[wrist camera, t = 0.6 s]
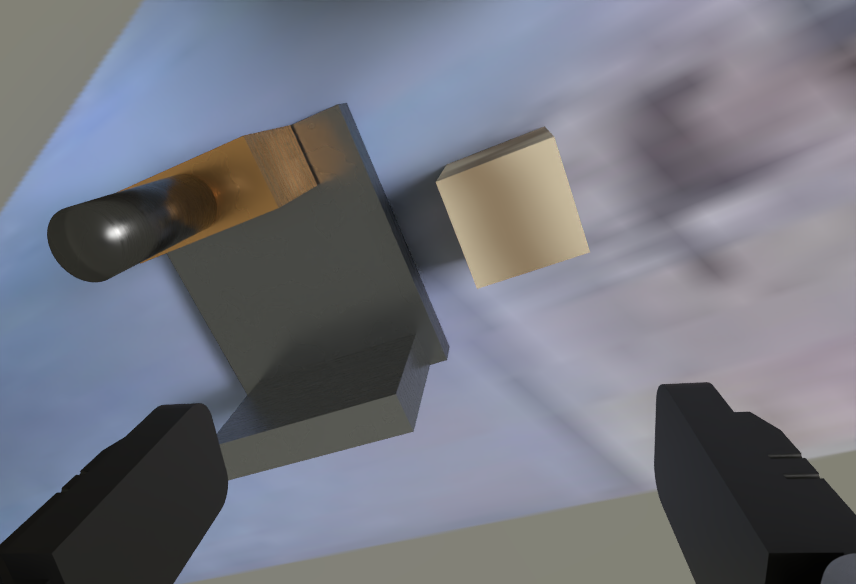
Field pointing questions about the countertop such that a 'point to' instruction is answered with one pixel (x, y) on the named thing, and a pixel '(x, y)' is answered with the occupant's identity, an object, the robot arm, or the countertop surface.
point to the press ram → (180, 205)
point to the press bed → (317, 311)
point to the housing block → (512, 208)
